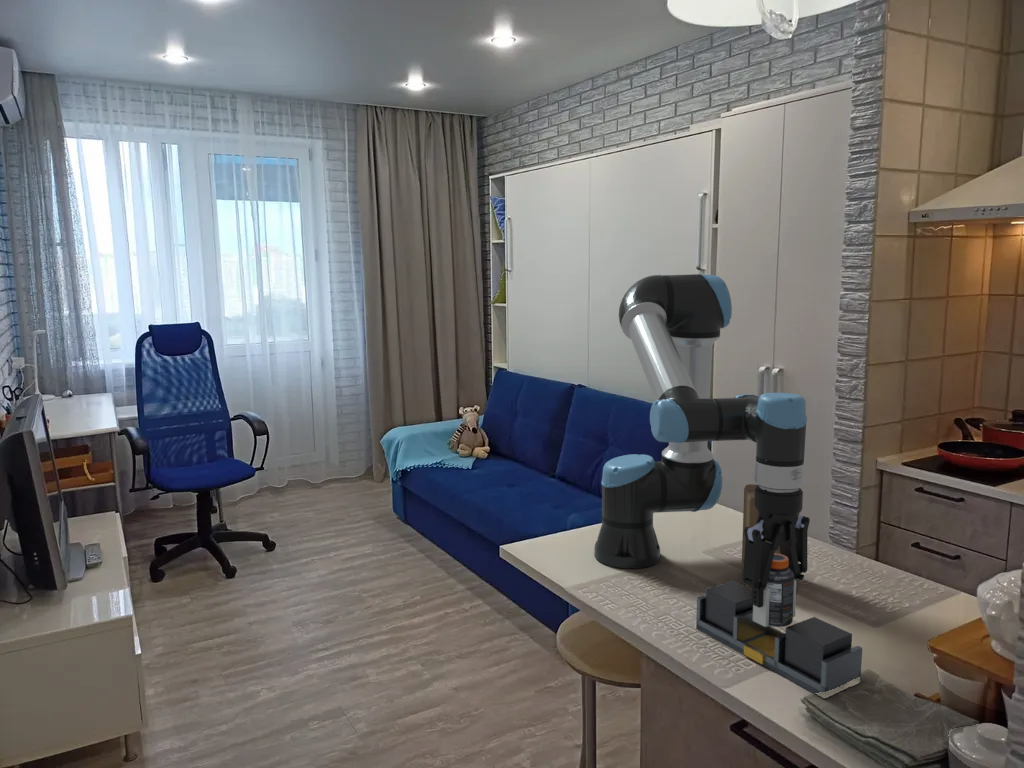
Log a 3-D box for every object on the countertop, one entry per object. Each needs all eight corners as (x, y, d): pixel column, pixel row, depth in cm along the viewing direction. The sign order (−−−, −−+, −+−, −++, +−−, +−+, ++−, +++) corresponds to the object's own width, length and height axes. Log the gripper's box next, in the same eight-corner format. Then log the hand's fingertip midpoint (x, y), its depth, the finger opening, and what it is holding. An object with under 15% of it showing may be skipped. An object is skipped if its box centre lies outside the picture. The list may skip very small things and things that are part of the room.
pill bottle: (779, 610, 129) (782, 548, 128) (799, 626, 124) (802, 561, 122) (748, 614, 128) (751, 551, 126) (767, 629, 122) (770, 564, 121)
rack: (694, 629, 136) (695, 588, 135) (730, 617, 141) (731, 577, 139) (822, 700, 113) (825, 651, 112) (860, 683, 117) (863, 635, 116)
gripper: (757, 501, 115) (752, 641, 118) (835, 483, 124) (829, 613, 127) (720, 490, 121) (717, 623, 124) (797, 473, 131) (792, 597, 134)
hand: (773, 618), depth 126 cm, fingers closed on pill bottle, 6 cm apart
